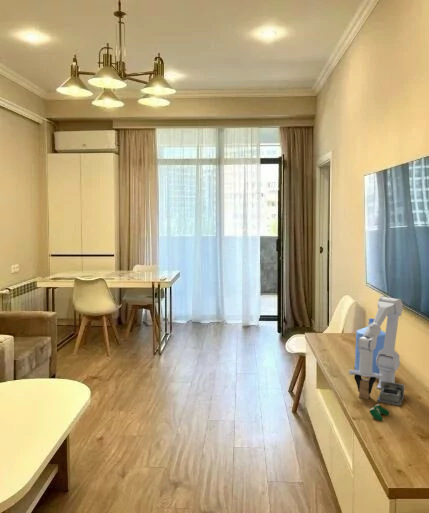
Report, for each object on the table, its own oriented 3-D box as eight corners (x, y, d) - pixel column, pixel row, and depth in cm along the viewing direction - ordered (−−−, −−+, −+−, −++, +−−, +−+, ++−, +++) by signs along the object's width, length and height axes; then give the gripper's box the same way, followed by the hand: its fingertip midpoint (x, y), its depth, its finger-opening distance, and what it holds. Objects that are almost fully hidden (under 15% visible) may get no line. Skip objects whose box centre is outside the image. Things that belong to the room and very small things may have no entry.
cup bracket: (381, 393, 236) (381, 380, 236) (403, 397, 232) (404, 384, 231) (376, 401, 226) (377, 388, 225) (400, 405, 221) (401, 392, 221)
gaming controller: (384, 417, 213) (375, 405, 215) (391, 413, 211) (381, 401, 213) (375, 424, 206) (366, 412, 208) (382, 420, 204) (372, 407, 206)
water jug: (388, 375, 263) (391, 322, 260) (358, 374, 263) (361, 322, 261) (379, 366, 278) (382, 316, 276) (351, 365, 279) (353, 315, 276)
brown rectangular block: (360, 395, 234) (361, 378, 233) (369, 396, 232) (370, 379, 231) (359, 397, 230) (359, 380, 230) (368, 399, 228) (368, 382, 228)
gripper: (348, 362, 229) (346, 391, 231) (381, 367, 223) (379, 397, 224) (351, 359, 236) (350, 387, 237) (383, 363, 229) (382, 392, 230)
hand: (364, 392), depth 231 cm, fingers closed on brown rectangular block, 4 cm apart
